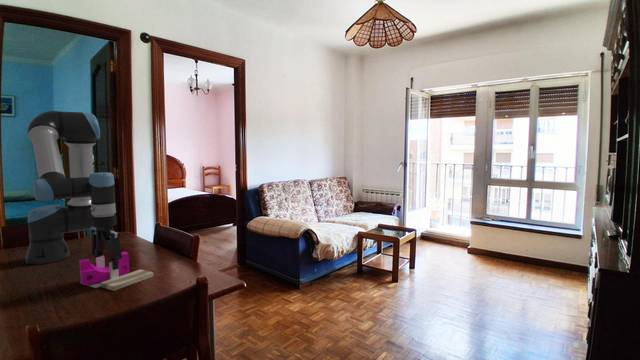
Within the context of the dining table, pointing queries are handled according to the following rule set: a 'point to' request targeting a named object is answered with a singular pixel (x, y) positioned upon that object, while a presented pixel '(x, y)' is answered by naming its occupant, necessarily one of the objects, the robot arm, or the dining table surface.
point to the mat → (98, 283)
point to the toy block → (101, 270)
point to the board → (126, 279)
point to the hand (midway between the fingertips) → (107, 275)
